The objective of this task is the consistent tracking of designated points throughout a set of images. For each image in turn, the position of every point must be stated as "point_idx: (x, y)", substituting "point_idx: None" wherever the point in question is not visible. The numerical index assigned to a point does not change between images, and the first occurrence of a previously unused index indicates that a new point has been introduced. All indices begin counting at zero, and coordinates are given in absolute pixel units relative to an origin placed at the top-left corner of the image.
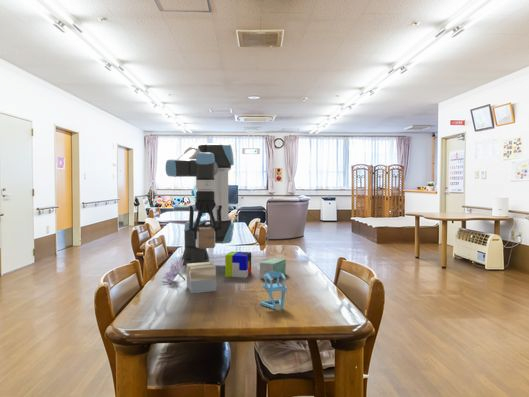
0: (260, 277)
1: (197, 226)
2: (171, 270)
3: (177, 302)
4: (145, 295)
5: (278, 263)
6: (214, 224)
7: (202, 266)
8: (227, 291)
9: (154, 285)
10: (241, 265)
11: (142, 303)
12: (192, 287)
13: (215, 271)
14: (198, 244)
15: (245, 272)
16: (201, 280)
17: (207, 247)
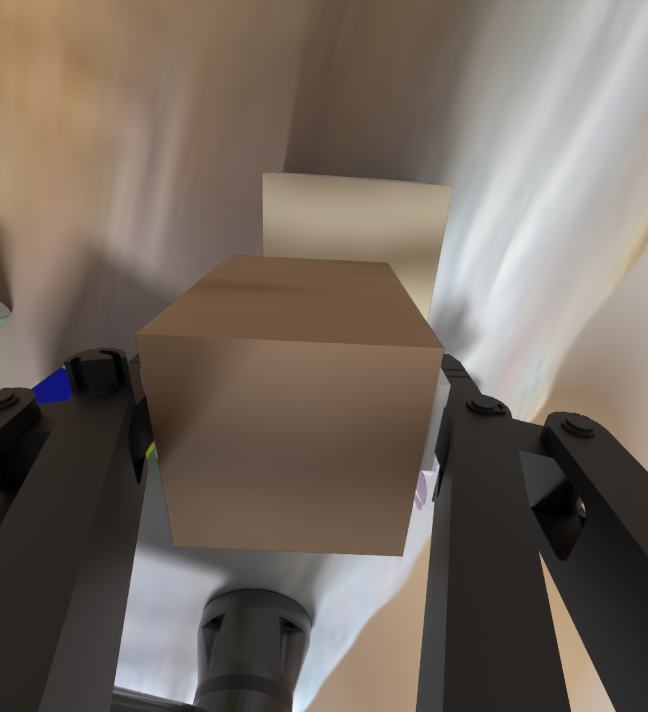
0: (7, 311)
1: (471, 446)
2: None
3: (543, 25)
4: (618, 243)
5: None
6: (85, 449)
7: (352, 227)
8: (227, 128)
9: (514, 386)
10: (70, 394)
11: None
12: (414, 181)
13: (270, 173)
14: None
15: None
16: (366, 178)
17: (305, 261)
